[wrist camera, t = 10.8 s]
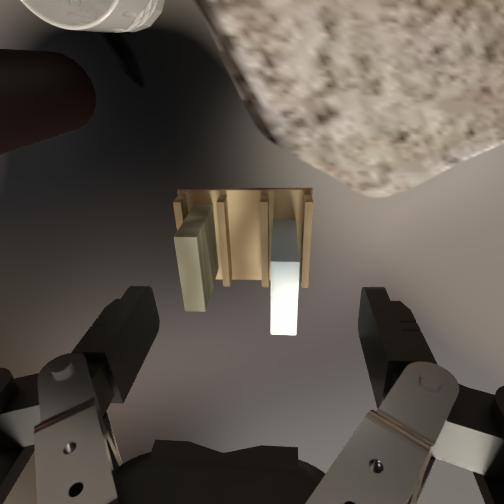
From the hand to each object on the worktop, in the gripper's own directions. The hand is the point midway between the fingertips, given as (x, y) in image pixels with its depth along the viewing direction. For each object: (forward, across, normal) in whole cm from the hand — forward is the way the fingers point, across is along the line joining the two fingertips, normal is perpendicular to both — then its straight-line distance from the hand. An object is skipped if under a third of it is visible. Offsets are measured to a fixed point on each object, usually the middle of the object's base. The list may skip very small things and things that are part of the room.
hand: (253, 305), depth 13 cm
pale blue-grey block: (+23, -1, +11) cm, 26 cm away
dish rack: (+24, +4, +9) cm, 26 cm away
